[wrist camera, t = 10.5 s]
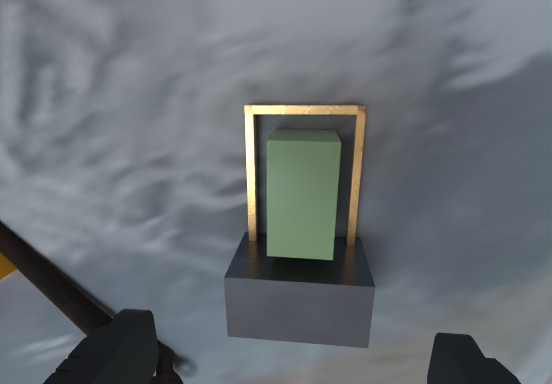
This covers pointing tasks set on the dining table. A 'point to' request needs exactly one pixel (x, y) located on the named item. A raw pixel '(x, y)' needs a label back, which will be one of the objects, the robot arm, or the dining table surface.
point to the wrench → (72, 299)
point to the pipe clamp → (5, 266)
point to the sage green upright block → (302, 192)
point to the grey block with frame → (301, 264)
